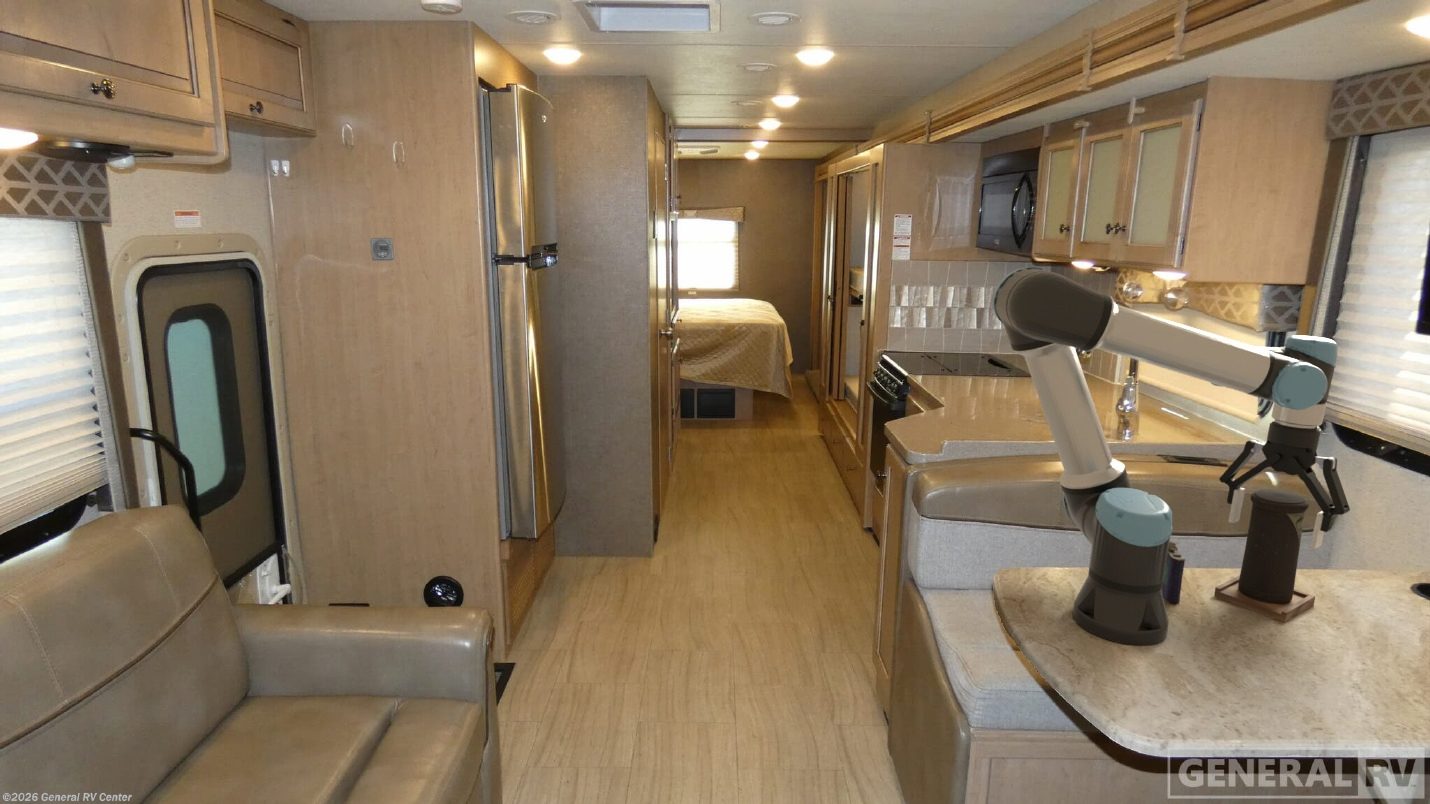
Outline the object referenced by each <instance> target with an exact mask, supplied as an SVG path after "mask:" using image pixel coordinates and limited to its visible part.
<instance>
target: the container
mask: <svg viewBox="0 0 1430 804" xmlns="http://www.w3.org/2000/svg"><path fill="white" fill-rule="evenodd" d="M1250 501H1251V503H1252V505H1251V512H1250V519H1249V525H1248V530H1247V537H1246V542H1245V547H1244V554H1243V556H1242V557H1243V558H1242V563H1241V569H1240V573H1239V575H1240V578H1239V584H1238V589H1239V591H1240V592H1241V593H1243V594H1244V595H1246V596H1248V597H1251V598H1253V599H1256V600H1260V601H1265V602H1271V603H1286V602H1289V601H1291V600H1292V597H1293V591H1294V589H1295V584H1296V577H1297V568H1298V563H1299V553H1300V548H1301V547H1300V546H1301V542H1302V541H1301V540H1302V533H1303V527H1304V526H1303V525H1304V519H1305V513H1306V512H1307V510H1308V509H1309V507H1310V503H1309V502H1308V500H1307V499H1305V497H1303V496H1302V495H1299V494H1296V493H1293V492H1290V491H1284V490H1280V489H1279V490H1278V489H1273V488H1272V489H1270V488H1269V489H1265V488H1264V489H1259V490H1256V491H1253V492H1252V494H1251V495H1250Z"/></svg>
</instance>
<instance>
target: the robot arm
mask: <svg viewBox="0 0 1430 804" xmlns="http://www.w3.org/2000/svg"><path fill="white" fill-rule="evenodd" d="M992 306H993V311H994V314H995V316H996V318H997V319H998V321H1000V323H1001V324H1003V327H1004V330H1005V333H1006V335H1007V338H1008V341H1009V343H1010V346H1011V347H1010V348H1011V349H1012V351H1013V352H1014V353H1015V354H1018V355H1021V356H1022V357H1023V358H1024V360H1025V362H1026V365H1027V368H1028V371H1029V374H1030V377H1031V379H1032V383H1033V385H1034V387H1035V388H1034V389H1035V390H1036V394H1037V396H1038V399H1039V402H1040V403H1039V404H1040V405H1041V409H1042V411H1043V413H1044V417H1045V420H1046V422H1047V425H1048V427H1049V430H1050V433H1051V436H1052V439H1053V441H1054V445H1055V447H1056V450H1057V454H1058V457H1059V459H1060V461H1061V462H1060V463H1061V465H1062V468H1063V472H1062V473H1061V475H1060V476H1059V480H1058V481H1059V483H1060V485H1059V486H1060V487H1061V490H1062V493H1063V494H1062V502H1063V508H1064V511H1065V513H1066V515H1067V517H1068V518H1069V520H1070V521H1071V522H1072V524H1073V525H1074V526H1076V527H1077V528H1078V529H1079V530H1080V531H1081V533H1082V534H1083V535H1084V537H1085V538H1086V540H1087V541H1088V542H1089V543H1090V544H1091V549H1090V557H1089V558H1090V559H1089V565H1088V573H1087V574H1088V575H1087V577H1086V579H1085V581H1084V582H1083V584H1082V586H1081V588H1080V591H1079V592H1078V594H1077V596H1076V598H1075V599H1074V602H1073V609H1072V617H1073V620H1074V621H1075V623H1076V624H1077V625H1079V627H1081V628H1082V629H1084V630H1085V631H1087V632H1089V633H1090V634H1092V635H1094V636H1096V637H1097V636H1098V637H1099V638H1102V639H1104V640H1108V641H1112V642H1116V643H1120V644H1125V645H1131V646H1132V645H1134V646H1149V645H1150V646H1151V645H1154V644H1159V643H1161V642H1162V641H1165V639H1166V638H1167V636H1168V631H1169V618H1168V613H1167V608H1166V604H1165V599H1163V594H1162V586H1163V580H1164V573H1165V567H1166V561H1167V555H1168V548H1169V542H1171V541H1170V540H1171V536H1172V533H1173V512H1172V509H1171V508H1170V506H1169V505H1168V503H1166V501H1164V499H1162V498H1160V497H1159V496H1157V495H1154V494H1149V493H1148V492H1147V491H1145V490H1144V491H1143V490H1141V489H1137V488H1133V486H1132V483H1131V480H1130V478H1129V476H1128V472H1127V469H1126V467H1125V464H1124V463H1123V462H1122V461H1120V460H1119V459H1116V458H1114V457H1113V456H1112V453H1111V450H1110V447H1109V445H1108V441H1107V439H1106V435H1105V433H1104V429H1103V426H1102V423H1101V421H1100V417H1099V415H1098V412H1097V410H1096V409H1097V408H1096V406H1095V403H1094V399H1093V397H1092V394H1091V392H1090V388H1089V386H1088V384H1087V380H1086V377H1085V373H1084V371H1083V368H1082V365H1081V362H1080V359H1079V357H1078V354H1077V350H1076V349H1079V350H1081V351H1084V352H1093V350H1095V349H1100V350H1103V351H1106V352H1107V351H1108V352H1110V353H1113V354H1117V355H1120V356H1124V357H1127V358H1130V359H1133V360H1135V361H1139V362H1142V363H1146V364H1150V365H1152V366H1156V367H1159V368H1161V369H1166V370H1168V371H1173V372H1176V373H1178V374H1182V375H1185V376H1189V377H1191V378H1193V379H1194V378H1195V379H1199V380H1201V381H1205V382H1208V383H1210V384H1211V385H1213V386H1215V387H1223V388H1226V389H1230V390H1234V391H1238V392H1240V393H1244V394H1247V395H1249V396H1252V397H1256V398H1259V399H1262V400H1265V401H1269V402H1272V403H1273V407H1272V412H1271V416H1270V417H1271V418H1272V421H1270V422H1269V427H1268V432H1267V437H1266V442H1265V443H1262V442H1260V441H1259V440H1258V439H1256V438H1254V439H1250V440H1247V441H1246V442H1245V445H1244V448H1243V450H1242V452H1241V453H1240V454H1239V455H1238V456H1237V458H1236V459H1234V461H1233V462H1232V463H1231V465H1229V466H1228V468H1227V469H1226V470H1225V471H1224V472H1223V473H1222V475H1221V476H1220V477H1219V481H1220V483H1224V484H1225V485H1227V486H1228V494H1227V499H1226V502H1227V505H1228V504H1229V505H1230V511H1229V517H1228V523H1230V524H1234V523H1236V522H1237V523H1238V522H1239V521H1240V518H1241V515H1242V514H1241V513H1242V509H1243V508H1242V507H1243V502H1244V498H1245V492H1246V488H1244V487H1242V486H1243V485H1245V484H1246V483H1248V482H1249V481H1251V480H1253V479H1254V478H1256V477H1258V476H1259V475H1260V474H1262V473H1263V472H1265V471H1267V470H1268V469H1270V468H1271V469H1273V471H1274V472H1276V473H1278V472H1279V473H1285V474H1287V475H1289V476H1297V477H1298V478H1299V479H1300V480H1301V481H1302V482H1303V483H1304V484H1305V486H1306V488H1307V489H1308V490H1309V491H1308V492H1309V493H1310V494H1311V495H1312V497H1313V498H1314V500H1315V501H1316V504H1317V505H1318V506H1319V508H1320V510H1321V511H1319V512H1317V514H1316V518H1315V522H1314V526H1313V532H1312V536H1311V540H1310V543H1309V544H1310V546H1309V548H1310V549H1314V550H1316V549H1317V548H1320V547H1321V546H1322V543H1323V539H1324V534H1325V533H1328V532H1330V531H1331V530H1332V529H1333V525H1334V520H1335V517H1336V515H1340V516H1342V515H1345V514H1347V513H1349V512H1350V510H1351V508H1350V505H1349V502H1348V499H1347V497H1346V494H1345V490H1344V488H1343V485H1342V482H1341V479H1340V476H1339V474H1338V470H1337V466H1338V459H1337V458H1336V457H1335V456H1330V457H1325V456H1318V453H1317V451H1318V445H1319V441H1320V437H1321V432H1322V429H1321V428H1320V426H1321V425H1322V424H1323V422H1324V418H1325V417H1324V416H1325V412H1326V409H1327V402H1328V397H1329V394H1330V389H1331V385H1332V381H1333V377H1334V372H1335V368H1336V367H1337V356H1338V347H1339V346H1338V344H1337V342H1336V341H1335V340H1333V339H1330V338H1327V337H1320V336H1311V335H1291V336H1288V337H1287V338H1286V341H1285V343H1284V345H1283V346H1280V347H1279V346H1277V347H1276V346H1275V347H1274V346H1272V347H1271V346H1261V345H1260V346H1258V345H1257V346H1256V345H1249V344H1247V343H1245V342H1244V343H1243V342H1240V341H1237V340H1233V339H1230V338H1227V337H1224V336H1220V335H1217V334H1214V333H1211V332H1207V331H1204V330H1201V329H1198V328H1194V327H1191V326H1188V325H1185V324H1181V323H1179V322H1175V321H1172V320H1168V319H1166V318H1162V317H1158V316H1155V315H1152V314H1149V313H1146V312H1142V311H1139V310H1136V309H1132V308H1130V307H1127V306H1123V305H1119V304H1116V303H1115V300H1114V298H1113V297H1112V296H1111V295H1109V294H1105V293H1102V292H1099V291H1096V290H1094V289H1091V288H1089V287H1087V286H1085V285H1082V284H1080V283H1078V282H1076V281H1074V280H1072V279H1071V278H1068V277H1067V276H1064V275H1062V274H1059V273H1057V272H1053V271H1048V270H1047V269H1044V268H1043V267H1037V266H1028V267H1022V268H1018V269H1015V270H1013V271H1011V272H1009V273H1008V274H1006V275H1005V276H1004V277H1003V278H1002V279H1001V280H1000V281H999V283H998V284H997V286H996V288H995V289H994V293H993V297H992ZM1260 451H1262V454H1263V455H1264V457H1265V459H1264V460H1263V461H1261V462H1259V463H1258V464H1257V465H1256V466H1254V467H1252V468H1251V469H1249V470H1247V471H1246V472H1245V473H1242V475H1240V476H1239V477H1237V478H1235V476H1237V474H1238V473H1239V472H1240V471H1241V470H1242V469H1243V468H1244V467H1245V465H1247V464H1248V462H1249V461H1250V460H1251V459H1252V458H1253V456H1254V455H1255V454H1257V453H1259V452H1260ZM1315 464H1317V465H1318V466H1319V469H1321V470H1322V474H1323V475H1322V476H1323V477H1324V479H1325V480H1324V481H1325V483H1326V486H1327V489H1328V493H1329V494H1328V493H1327V491H1326V490H1325V488H1324V486H1323V485H1322V483H1321V482H1320V481H1319V479H1318V478H1317V473H1316V472H1315V470H1314V469H1313V467H1312V466H1314V465H1315Z"/></svg>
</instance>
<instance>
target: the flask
mask: <svg viewBox="0 0 1430 804" xmlns="http://www.w3.org/2000/svg"><path fill="white" fill-rule="evenodd" d="M1176 545H1179V542H1178V541H1170V542H1169V548H1168V555H1167V561H1166V567H1165V573H1164V580H1163V586H1162V594H1163V599H1164V602H1166V603H1168V604H1171V605H1179V604H1180V601H1181V590H1182V582H1183V581H1182V580H1183V575H1184V569H1185V568H1184V567H1185V562H1186V559H1185V557H1184V555H1183V554H1182V553H1181V552H1180V551H1179V549H1178V547H1177V546H1176Z"/></svg>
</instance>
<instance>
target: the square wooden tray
mask: <svg viewBox="0 0 1430 804" xmlns="http://www.w3.org/2000/svg"><path fill="white" fill-rule="evenodd" d="M1239 578H1240V574H1239V575H1238V576H1235V577H1233V578H1231V579H1229V580H1227V581H1225V582H1223V583H1221V584H1220V585H1217V586H1216V587H1215V588H1214V594H1213V596H1214V597H1216V598H1219V599H1222V600H1224V601H1226V602H1229V603H1231V604H1234V605H1237V606H1240V607H1242V608H1245V609H1249V610H1251V611H1253V612H1257V613H1258V614H1262V615H1264V616H1267V617H1268V618H1273V619H1275V620H1278V621H1280V622H1283V623H1286V622H1288V621H1289V620H1291V619H1293V618H1295V617H1297V616H1298V615H1300V614H1301V613H1303V612H1305V611H1306V610H1308V609H1310V608H1311V607H1313V606H1314V605H1315V599H1316V595H1313V594H1310V593H1307V592H1304V591H1301V590H1299V589H1295V588H1294V591H1293V597H1292V600H1291V601H1289V602H1286V603H1271V602H1265V601H1260V600H1256V599H1253V598H1251V597H1248V596H1246V595H1244V594H1243V593H1241V592H1240V591H1239V589H1238V584H1239Z"/></svg>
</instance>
